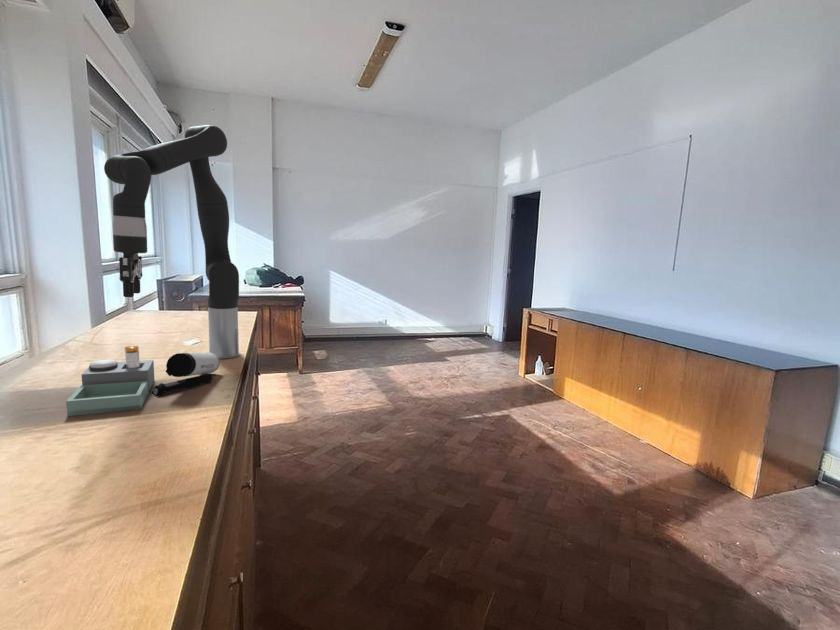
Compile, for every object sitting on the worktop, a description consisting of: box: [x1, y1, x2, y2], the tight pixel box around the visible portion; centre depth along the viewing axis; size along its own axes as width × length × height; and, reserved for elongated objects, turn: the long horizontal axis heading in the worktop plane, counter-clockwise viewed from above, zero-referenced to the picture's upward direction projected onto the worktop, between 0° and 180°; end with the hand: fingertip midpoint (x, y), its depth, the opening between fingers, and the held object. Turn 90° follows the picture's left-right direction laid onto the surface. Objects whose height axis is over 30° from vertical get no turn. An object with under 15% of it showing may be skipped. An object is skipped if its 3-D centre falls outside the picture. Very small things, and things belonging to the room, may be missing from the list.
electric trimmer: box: [151, 373, 213, 397], centre depth 117 cm, size 4×16×3 cm, turn 145°
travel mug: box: [165, 352, 221, 378], centre depth 121 cm, size 6×7×20 cm
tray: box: [65, 381, 149, 417], centre depth 104 cm, size 14×11×4 cm
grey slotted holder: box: [80, 359, 155, 393], centre depth 114 cm, size 14×10×7 cm
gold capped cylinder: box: [124, 345, 140, 369], centre depth 115 cm, size 3×3×11 cm
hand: (132, 295), depth 117 cm, fingers open, 8 cm apart
